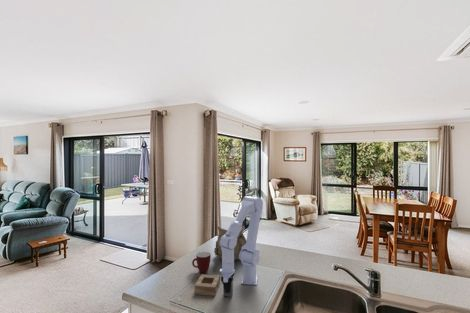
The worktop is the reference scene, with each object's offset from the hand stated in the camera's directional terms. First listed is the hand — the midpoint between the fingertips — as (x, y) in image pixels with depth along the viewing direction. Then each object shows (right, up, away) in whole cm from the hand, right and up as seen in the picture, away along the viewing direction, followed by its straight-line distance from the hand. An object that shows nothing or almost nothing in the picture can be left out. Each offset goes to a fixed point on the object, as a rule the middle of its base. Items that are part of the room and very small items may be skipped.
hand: (228, 289), depth 110 cm
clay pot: (+1, -3, +42) cm, 42 cm away
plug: (0, -2, 0) cm, 2 cm away
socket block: (-10, -3, +5) cm, 12 cm away
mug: (-16, -3, +22) cm, 28 cm away
